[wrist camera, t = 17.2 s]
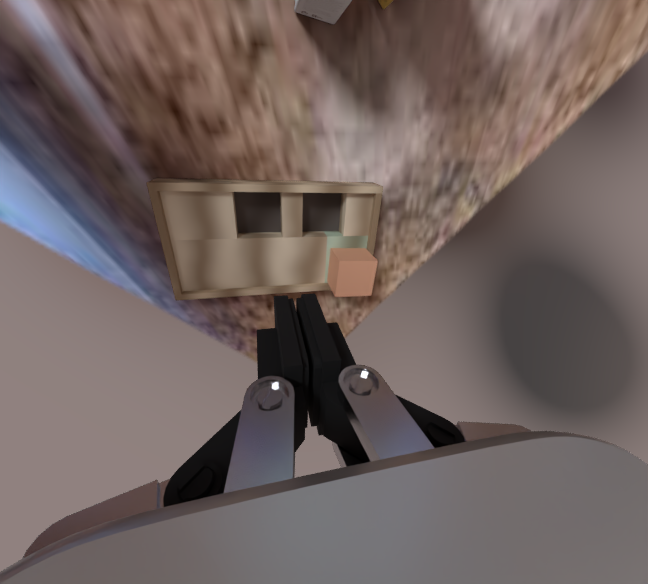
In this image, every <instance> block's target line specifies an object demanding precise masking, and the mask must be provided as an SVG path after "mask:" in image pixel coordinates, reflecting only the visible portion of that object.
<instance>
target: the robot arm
mask: <svg viewBox="0 0 648 584" xmlns="http://www.w3.org/2000/svg"><path fill="white" fill-rule="evenodd" d="M274 312H275V328H271V329H260V330H257V358H258V380H256V381H255V382H253V383H252V384H251V385H250V386H249V388H248V389H247V391H246V393H245V396H244V401H243V405H242V410H241V411H239V412H238V413H237V414H236V415H235V416H234V417H233V418H232V419H231V420H230V421H229V422H228V423H227V424H226V425H225V426H223V427H222V428H221V429H220V430H219V431H218V432H217V433H216V434H215V435H214V436H213V437H212V438H211V439H210V440H209V441H207V442H206V443H205V444H204V445H203V446H202V447H201V448H200V449H199V450H198V451H197V452H196V453H195V454H194V455H193V456H192V457H190V458H189V459H188V460H187V461H186V462H185V463H184V464H183V465H182V466H181V467H180V468H179V469H178V470H177V471H176V472H175V474H174V475H173V476H172V477H171V478H170V479H168V480H165V481H163V482H161V483H158V480H155V481H152V482H150V483H148V484H145V485H143V486H140V487H138V488H135V489H133V490H130V491H128V492H126V493H123V494H120V495H118V496H115V497H113V498H110V499H108V500H106V501H103V502H101V503H98V504H96V505H93V506H91V507H88V508H86V509H83V510H81V511H79V512H76V513H73V514H71V515H69V516H66V517H64V518H63V519H61V520H59V521H57V522H55V523H54V524H52V525H51V526H50V527H48V528H47V529H46V530H45V531H44V532H42V533H41V534H40V535H39V536H38V537H37V538H36V540H35V541H34V542H33V543H32V544H31V546H30V547H29V548H28V549H27V550H26V552H25V554H24V556H23V558H22V559H21V560H19V561H18V562H16V563H14V564H13V565H11V566H9V567H7V568H6V569H4V570H3V571H1V572H0V584H648V464H647V463H645V462H644V461H642V460H641V459H639V458H638V457H636V456H635V455H633V454H631V453H630V452H628V451H627V450H625V449H623V448H621V447H619V446H617V445H614V444H612V443H609V442H606V441H603V440H601V439H597V438H593V437H589V436H584V435H579V434H574V433H568V432H555V431H531V430H529V429H527V428H525V427H523V426H520V425H514V424H499V423H479V422H459V421H458V423H457V425H454V424H453V423H451V422H450V421H448V420H446V419H445V418H443V417H441V416H438V415H436V414H434V413H432V412H430V411H428V410H426V409H424V408H422V407H420V406H418V405H416V404H414V403H412V402H410V401H407V400H405V399H403V398H401V397H399V396H397V395H395V394H394V393H393V391H392V390H391V389H390V387H389V386H388V385H387V383H386V382H385V380H384V379H383V378H382V376H381V375H380V374H379V373H378V372H377V371H376V370H374V369H372V368H371V367H367V366H365V365H356V363H355V361H354V359H353V357H352V354H351V352H350V350H349V348H348V345H347V343H346V341H345V339H344V337H343V334H342V332H341V330H340V328H339V325H338V324H337V323H336V322H335V323H326V320H325V318H324V315H323V312H322V310H321V307H320V305H319V302H318V300H317V297H316V295H315V294H302V295H301V298H297V300H296V309H295V305H294V301H293V299H288V296H287V295H286V296H274ZM308 413H309V418H310V423H311V426H317V430H318V434H319V435H324V436H325V437H326V438H328V439H329V440H331V441H332V445H333V449H334V452H335V454H336V456H337V459H338V461H339V464H340V466H341V468H339V469H334V470H330V471H325V472H321V473H316V474H311V475H306V476H301V477H297V478H295V477H294V474H295V452H296V450H297V449H298V448H299V446H300V445H301V444H302V442H303V441H304V440H305V428H306V427H307V420H308Z"/></svg>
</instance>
